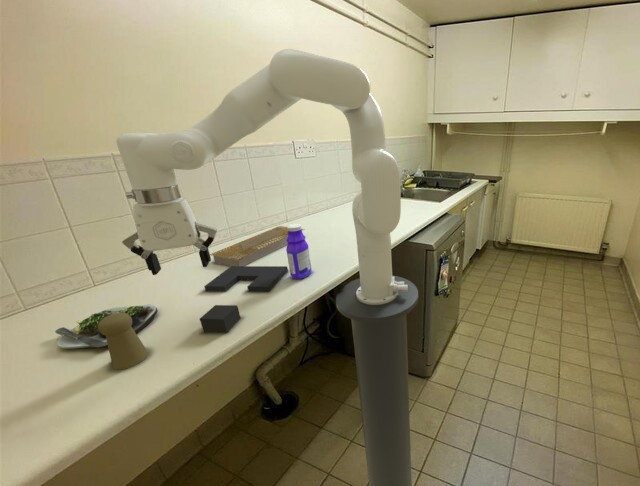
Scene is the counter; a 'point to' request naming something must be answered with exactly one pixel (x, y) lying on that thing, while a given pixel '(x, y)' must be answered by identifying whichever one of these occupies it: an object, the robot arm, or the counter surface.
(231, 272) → the base pad
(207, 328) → the black square block
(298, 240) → the bottle
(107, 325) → the cork
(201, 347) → the counter surface
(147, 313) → the salad plate
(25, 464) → the counter surface
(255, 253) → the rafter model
